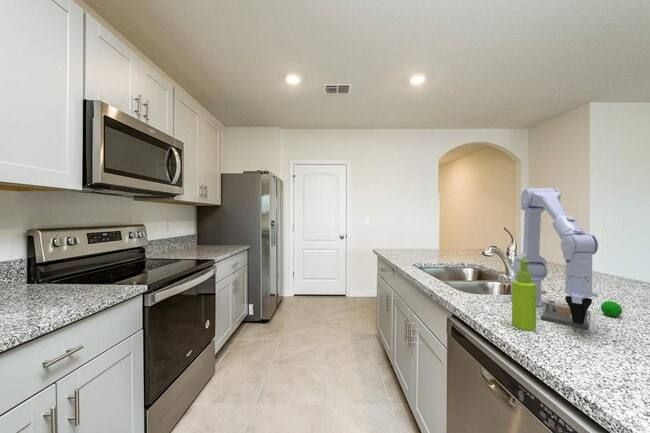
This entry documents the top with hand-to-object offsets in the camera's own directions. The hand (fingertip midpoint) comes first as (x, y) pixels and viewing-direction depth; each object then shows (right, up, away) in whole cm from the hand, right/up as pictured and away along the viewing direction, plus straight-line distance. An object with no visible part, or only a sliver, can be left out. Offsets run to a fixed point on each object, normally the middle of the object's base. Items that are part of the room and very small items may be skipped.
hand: (578, 323), depth 81 cm
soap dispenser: (-13, -2, +3) cm, 14 cm away
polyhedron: (+22, -2, +12) cm, 25 cm away
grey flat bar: (+7, 0, +11) cm, 13 cm away
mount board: (+6, -2, +11) cm, 13 cm away
